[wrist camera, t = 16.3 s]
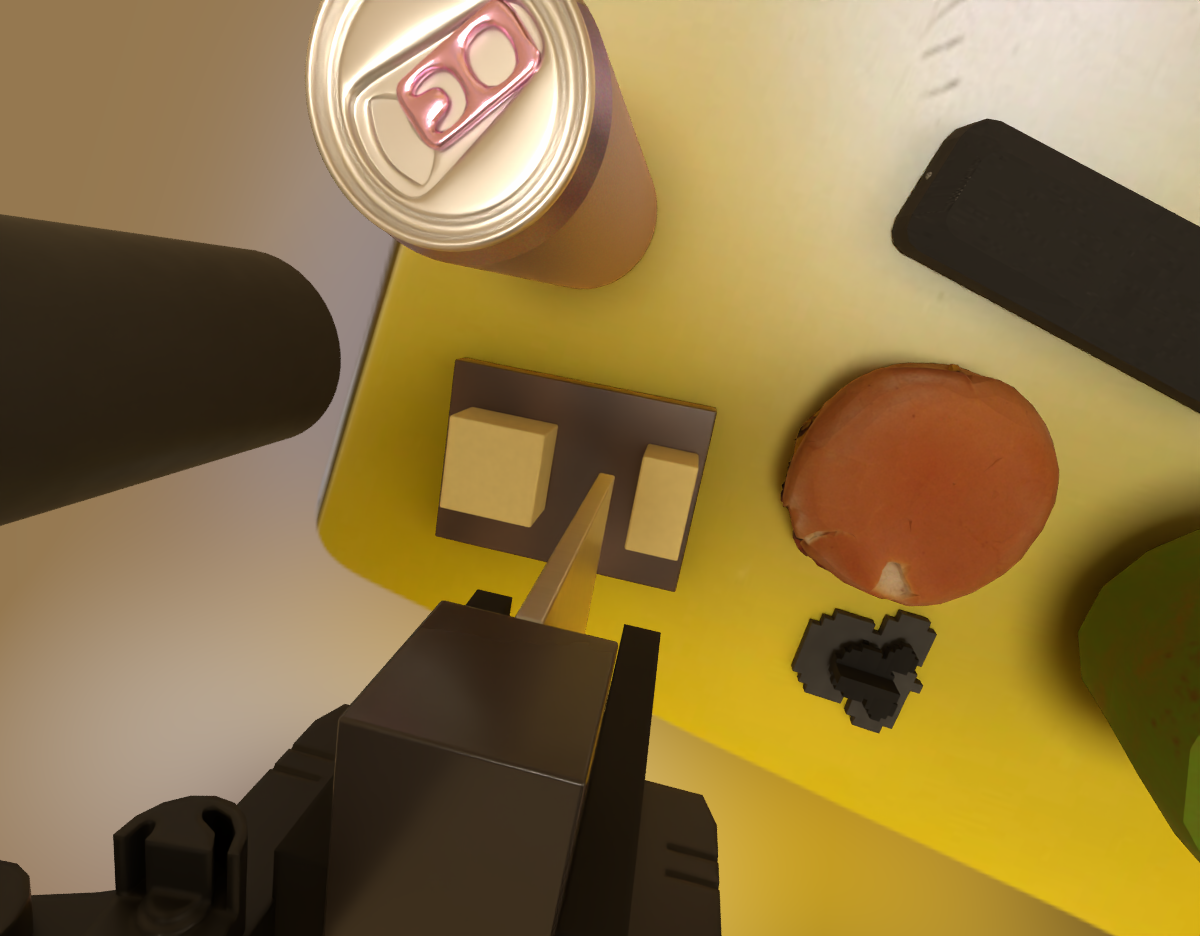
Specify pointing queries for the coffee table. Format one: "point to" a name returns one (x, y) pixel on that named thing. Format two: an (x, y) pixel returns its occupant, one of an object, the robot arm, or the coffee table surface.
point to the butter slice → (662, 501)
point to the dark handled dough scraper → (474, 761)
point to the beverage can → (482, 134)
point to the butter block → (497, 465)
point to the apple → (1153, 674)
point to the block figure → (864, 663)
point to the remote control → (1062, 251)
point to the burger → (921, 482)
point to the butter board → (580, 460)
